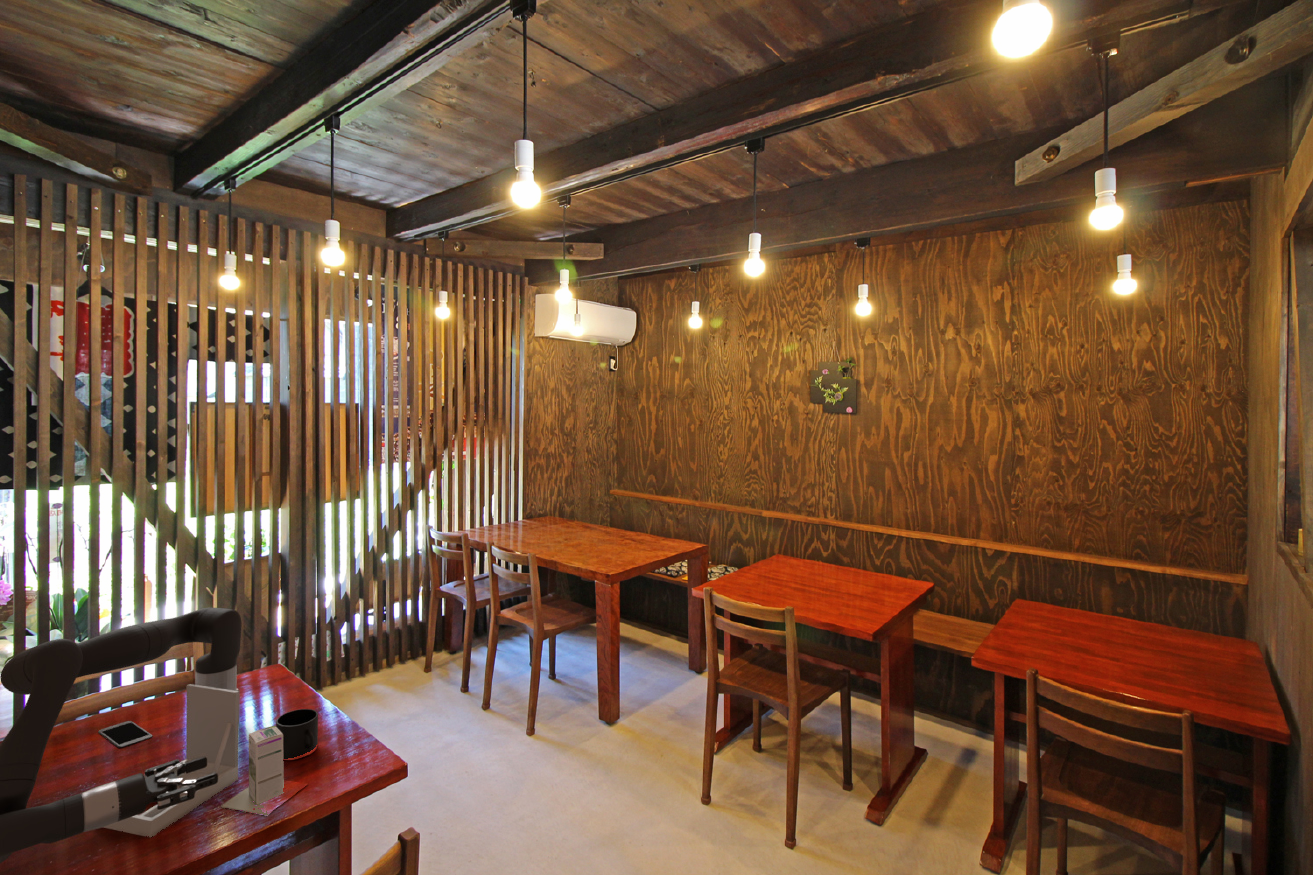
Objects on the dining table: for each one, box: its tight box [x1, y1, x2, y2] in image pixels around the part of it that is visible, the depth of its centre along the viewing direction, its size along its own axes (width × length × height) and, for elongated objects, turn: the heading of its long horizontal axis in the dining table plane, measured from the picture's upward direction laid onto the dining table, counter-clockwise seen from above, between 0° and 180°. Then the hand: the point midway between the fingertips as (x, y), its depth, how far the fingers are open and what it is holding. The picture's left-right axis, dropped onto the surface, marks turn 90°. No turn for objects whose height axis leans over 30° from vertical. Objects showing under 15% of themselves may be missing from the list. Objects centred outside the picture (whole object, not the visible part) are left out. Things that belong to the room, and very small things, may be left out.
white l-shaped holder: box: [102, 683, 240, 838], centre depth 140 cm, size 21×14×22 cm
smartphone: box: [97, 720, 154, 749], centre depth 167 cm, size 7×15×1 cm, turn 59°
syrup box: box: [248, 725, 285, 805], centre depth 143 cm, size 6×6×14 cm
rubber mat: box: [220, 786, 268, 815], centre depth 144 cm, size 12×12×1 cm
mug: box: [275, 708, 319, 759], centre depth 161 cm, size 9×12×9 cm
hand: (211, 769), depth 135 cm, fingers open, 8 cm apart
